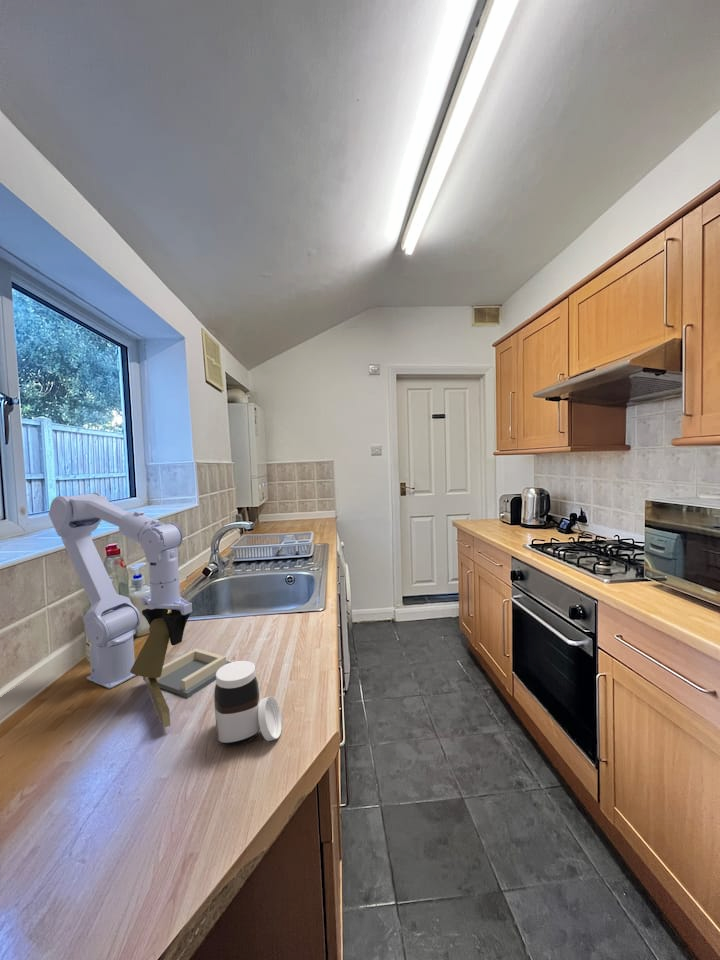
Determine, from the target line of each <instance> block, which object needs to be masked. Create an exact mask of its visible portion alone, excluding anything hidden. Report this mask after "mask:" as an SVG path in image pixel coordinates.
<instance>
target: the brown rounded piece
mask: <svg viewBox="0 0 720 960" xmlns="http://www.w3.org/2000/svg"><path fill="white" fill-rule="evenodd" d="M148 628H149V629H148V631H149V635H148V636H147V638H146V639H145V642H144V644H143V646H142V648H141V649H140V651H139V654H138V655H137V657H136V658H135V663H134V665H133V667H132V668H131V670H130V673H132V674H134V675H136V676H138V677H142V678H143V677H150V678H158V677H161V673H162V668H163V665H165V664H164V663H165V659H166V655H167V651H168V646H169V642H170V637H169V631H168V627H167V625H166V622H165V621H164V619H163V618H158V619H154V620H153V621H152V622H151V624H150V625H149V627H148Z"/></svg>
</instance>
